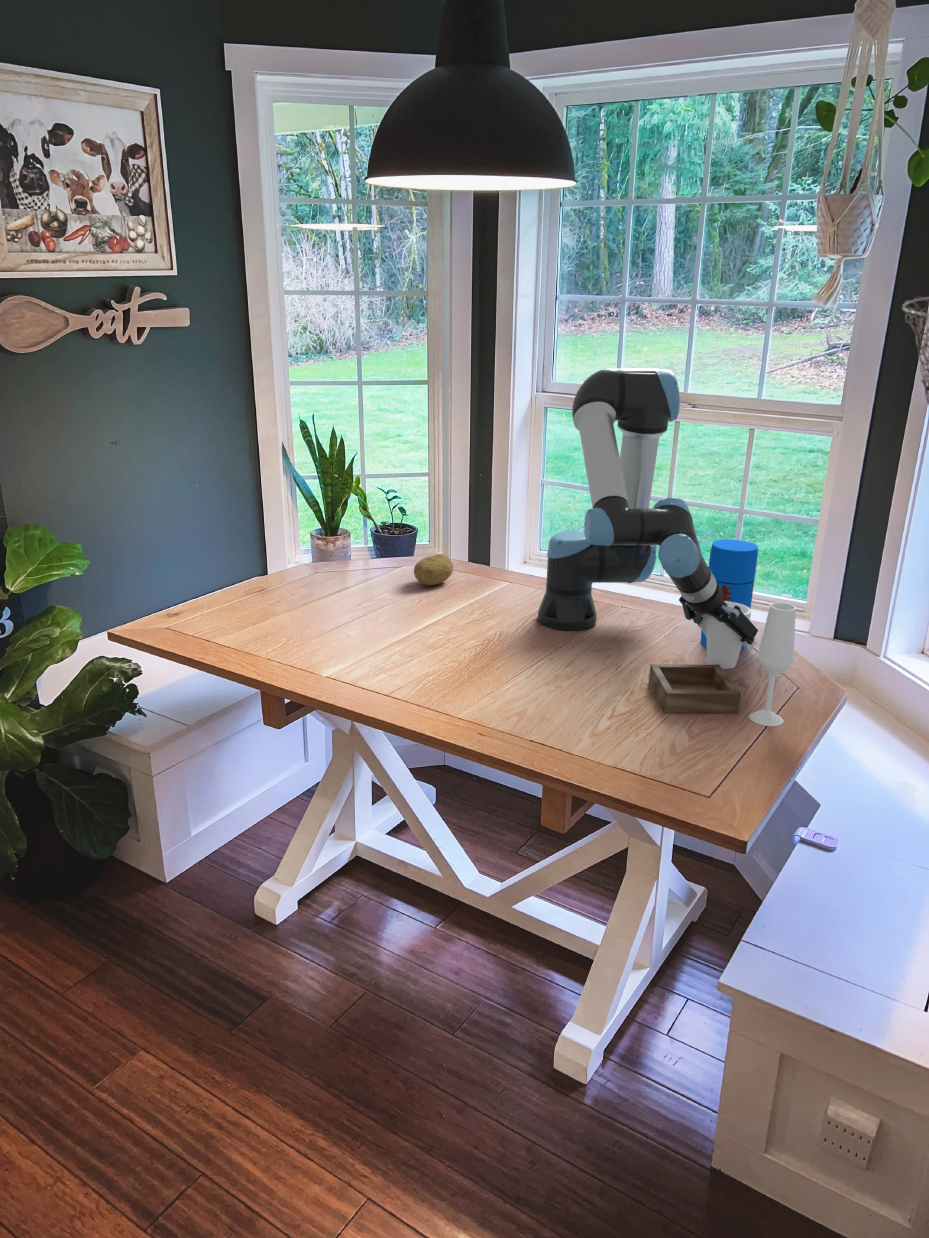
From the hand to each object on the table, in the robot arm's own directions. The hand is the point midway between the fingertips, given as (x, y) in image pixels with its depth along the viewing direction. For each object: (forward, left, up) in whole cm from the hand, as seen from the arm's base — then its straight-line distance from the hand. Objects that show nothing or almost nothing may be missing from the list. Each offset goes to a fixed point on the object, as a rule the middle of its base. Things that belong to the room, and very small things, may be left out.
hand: (731, 641), depth 201 cm
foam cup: (+2, -2, -5) cm, 6 cm away
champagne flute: (+25, 0, -7) cm, 26 cm away
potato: (-62, -67, -7) cm, 92 cm away
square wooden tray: (+15, -12, -7) cm, 21 cm away
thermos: (-16, +4, -7) cm, 18 cm away
